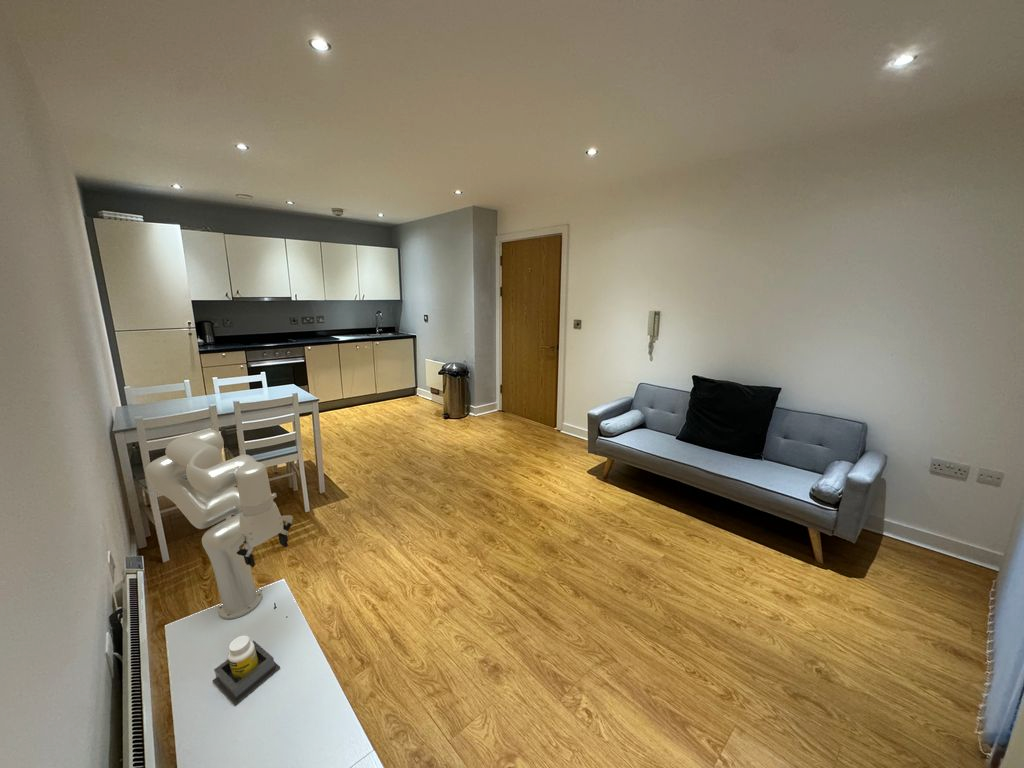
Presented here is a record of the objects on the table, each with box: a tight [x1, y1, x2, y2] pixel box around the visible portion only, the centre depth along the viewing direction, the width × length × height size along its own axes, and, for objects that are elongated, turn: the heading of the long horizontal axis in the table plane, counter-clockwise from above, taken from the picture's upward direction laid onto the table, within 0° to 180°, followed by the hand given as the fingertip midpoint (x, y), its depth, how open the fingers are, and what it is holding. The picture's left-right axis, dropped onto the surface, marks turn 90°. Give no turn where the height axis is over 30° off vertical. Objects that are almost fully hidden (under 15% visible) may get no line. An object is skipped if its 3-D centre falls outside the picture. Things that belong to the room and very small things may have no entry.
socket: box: [211, 640, 281, 707], centre depth 113 cm, size 12×12×4 cm
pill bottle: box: [227, 635, 259, 682], centre depth 112 cm, size 6×6×11 cm
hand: (268, 554), depth 120 cm, fingers open, 9 cm apart
